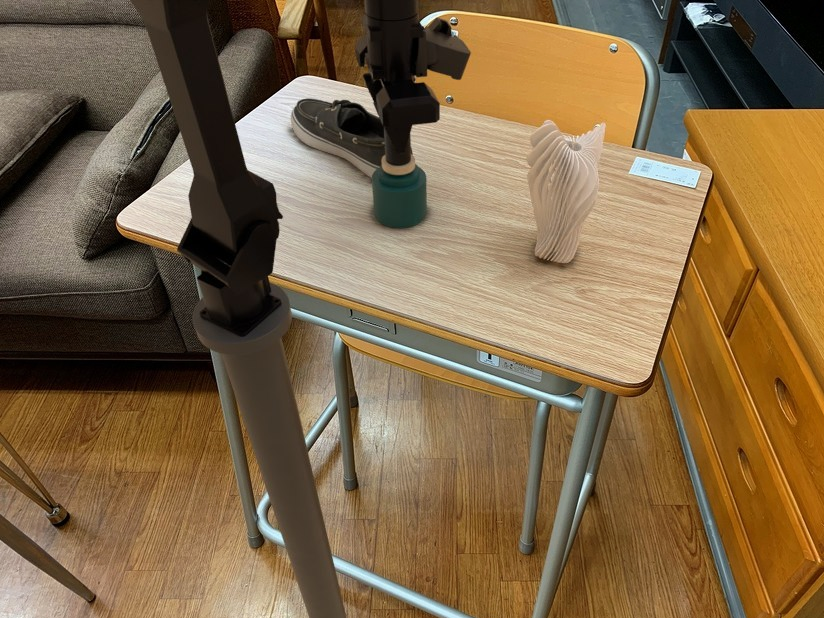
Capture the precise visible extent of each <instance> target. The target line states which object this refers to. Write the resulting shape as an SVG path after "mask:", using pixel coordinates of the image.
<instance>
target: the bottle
mask: <svg viewBox="0 0 824 618" xmlns="http://www.w3.org/2000/svg"><path fill="white" fill-rule="evenodd" d="M371 188H372V199H373V201H372V202H373V211H374V212H373V213H374V214H373V215H374V217H375V219H376V221H377V222H379V223H380V224H382V225H383V226H386V227H389V228H395V229H404V228H410V227H414V226H416V225H418V224H420V223H422V222H423V221H424V219H426V217H427V213H428V211H427V210H428V207H427V205H428V203H427V200H428V199H427V198H428V196H427V195H428V193H427V192H428V191H427V174H426V172H425V170H424V169H422V168H421V167H420V166H418V164H417V163H416V158H415V156H414V155H412V154H411V161H410V162H409V163H408V164H406V165H402V166H394V165H391V164H389V163H387V162H386V158H385V155H384V156H383V157H382V165H381V166H380V167H379V168H378V169H376V170H375V171H374V173H373V174H372V178H371Z"/></svg>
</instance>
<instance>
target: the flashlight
mask: <svg viewBox="0 0 824 618" xmlns="http://www.w3.org/2000/svg"><path fill="white" fill-rule="evenodd" d="M411 138H412V137H411V133H410V136H409V140H408V143H407V147H406V151H405V152H404V153H396V151H395V149H394V147H393V145H392V143H391V141H390V138H389V136H388V134H387V132H386V130H385V128H384V140H385V158H386V162H387V163H389V164H391V165H394V166H402V165H406V164H408V163H409V162H410V161H411V148H412V142H411V141H412V139H411Z"/></svg>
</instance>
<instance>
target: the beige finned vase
mask: <svg viewBox="0 0 824 618" xmlns="http://www.w3.org/2000/svg"><path fill="white" fill-rule="evenodd" d="M606 125H607V124H606V122H601V123H600V125H599V126H595V127H594V128H593V130H588V131H587V133H582V134H581V136H580V135H576V139H575V135H572V137H571V136H570V135H567V136H566V135H564V134H562V132H561V130H560V128H559V126H557V124H556V123H555V122H554V121H552V120H550V119H545V120H544V121H543V123H542V125H541V126H540V127H538V128H536V129H535V130H534V132H533V133H532V134H531V135H530V137H529V142H530V144H531V146H532V148H533V149H532V150H531V151H530V152H529V153H528V155H527V156H526V162H527V164H528V165H529V166H530V169H529V171H528V172H527V175H526V178H527V183H528V187H529V197H530V201H531V206H532V208H533V214H534V219H535V225H536V230H537V231H536V232H537V236H536V244H535V248H534V255H535V256H536V257H538V258H539V259H543V260H546V261H550V262H553V263H555V262H556V263H560V264H568V263H569V262H571V261H572V260H573V259H574V257H575V255H576V252H577V249H578V248H579V244H580V240H581V236H582V233H583V229H584V226H585V221H587V219H588V217H589V215H590V214H591V212H592V211H593V210H594V207H595V205H596V202H597V198H598V193H599V188H600V181H599V180H600V179H599V178H600V177H599V164H600V161H601V156H602V151H603V146H604V140H605V134H606V133H605V132H606V127H607V126H606Z"/></svg>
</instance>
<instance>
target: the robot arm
mask: <svg viewBox="0 0 824 618" xmlns="http://www.w3.org/2000/svg"><path fill="white" fill-rule="evenodd" d="M129 2H130V3H131V4H132V6H133V7H134V9H135V10H136V11H137V12H138V14H139V15H140V16H141V19H142V22H143V23H144V25H145V29H146V33H147V35H148V37H149V40H150V44H151V47H152V50H153V53H154V56H155V59H156V63H157V65H158V68H159V71H160V74H161V77H162V80H163V83H164V86H165V90H166V93H167V96H168V99H169V102H170V105H171V108H172V110H173V114H174V117H175V120H176V123H177V126H178V129H179V132H180V136H181V139H182V141H183V145H184V147H185V151H186V154H187V156H188V160H189V162H190V166H191V169H192V173H193V178H192V181H191V184H190V188H189V191H188V204H189V211H190V216H191V218H190V220H189V222H188V224H187V227H186V228H185V231H184V232H183V235H182V237H181V239H180V241H179V243H178V245H177V248H176V251H177V252H178V254H179V255H180V256H181V257H182V258H183V259H184V260H185V261H186V262H188V263H189V264H191V265H193V266H194V267H196V268H198V269H200V274H199V275H198V276H197V277H196V280H197V283H198V286H199V290H200V293H201V295H202V296H201V297H203V299H204V302H205V305H206V307H205V308H204V309H203V310H201V311H200V313H199V314H200V317H201V318H203V319H205V320H207V321H209V322H211V323H213V324H215V325H217V326H219V327H221V328H223V329H225V330H227V331H229V332H232V333H234V334H236V335H238V336H240V337H244V336H246V335H248V334H249V333H250V332H251V331H252V330H253V329H254V328H256V327H257V326H258V325H259V324H260V323H261V322H262V321H264V320H265V319H266V318H267V317H268V316H269V315H270V314H272V313H273V312H274V311H275V310H276V309H277V308H278V307H279V306H281V304H282V302H281V299H279V298H277V297H274V296H272V295H270V293H271V287H270V283H271V281H270V278H269V276H271V275H272V274H273V272H274V264H275V257H276V256H275V255H276V249H277V239H279V237H280V232H281V231H280V222H279V220H282V219H284V215H283V214H282V213H281V211H280V209H279V206H278V202H277V201H278V200H277V190H276V188H275V185H274V183H273V182H271V181H269V180H267V179H265V178H264V177H262V176H259V175H258V174H256V173H254V172H252V171H250V170H248V168H247V164H246V161H245V156H244V153H243V149H242V145H241V141H240V137H239V133H238V129H237V125H236V122H235V118H234V114H233V110H232V106H231V103H230V102H231V101H230V98H229V95H228V91H227V87H226V83H225V80H224V76H223V72H222V68H221V65H220V61H219V57H218V53H217V49H216V45H215V42H214V37H213V33H212V30H211V26H210V22H209V16H208V10H209V6H210V2H211V0H129ZM363 5H364V14H362V15H361V17H362V19H361V20H362V26H363V28H364V31H365V34H361V36H360V37H359V38H358V39H357V40H356V41H355V43H354V47H355V48H354V49H355V50H354V51H355V60H356V62H357V64H358V67H359V68H364V67H365V66H367V69H368V71H369V72H366V73H364V74H362V78H363V81H364V84H365V86H366V89H367V90H368V92H369V95H370V97H371V100H372V101H373V102H372V103H373V106H374V109H375V111H376V113H377V117H379V118H380V120H381V122H382V124H383V126H384V128H385V130H386V132H387V134H388V136H389V138H390V141H391V143H392V145H393V147H394V149H395V151H396V153H404V152H405V151H406V147H407V143H408V140H409V136H410V134H411V133H412V129H413V126H416V125H427V124H434V123H435V124H436V123H437V122H439V121H440V120H441V119H440V118H441V113H440V112H441V102H440V101H439V99H438V97H437V96H436V93H435V92H434V90H433V88H431V87H430V86H429V85H428V84H427V83H426V82H424V81H422V82H416V81H417V78H426V77H428V71H430V72H434V73H437V74H440V75H444V76H447V77H450V78H451V79H452V80H457V81H461V80H462V79H463V76H464V74H465V73H464V72H465V70H466V68H467V65H468V62H469V59H470V57H471V54H472V52H471V50H470V48H469V47H468V46H467V45H466V43H465V41H463V39H461V38H459V37H458V35H457V34H454V35H453V32H452V26H451V24H450V22H449V21H448V19H447V20H446V19H443V18H441V17H435V18H434V20H432V22H430V24H429V25H428V26H427V25H426V26H424V25H422V23H421V21H420V19H419V15H420V13H419V0H363ZM277 302H278V303H277ZM242 332H243V333H242Z"/></svg>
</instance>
